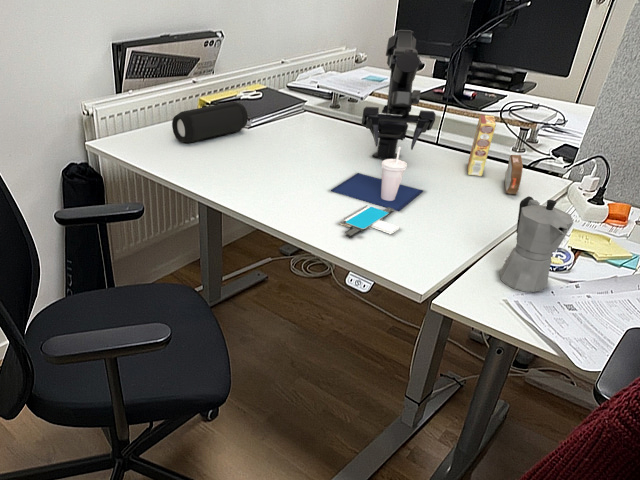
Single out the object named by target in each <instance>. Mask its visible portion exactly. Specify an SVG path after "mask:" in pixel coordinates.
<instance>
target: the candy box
mask: <svg viewBox="0 0 640 480" xmlns="http://www.w3.org/2000/svg"><path fill="white" fill-rule="evenodd" d="M496 127H497V123H496V118H495V116H494V115H485V114H479V117H478V121H477V125H476V128H475V133H474V137H473V140H472V145H471V149H470V154H469V157H468V160H467V161H468V162H467V175H468V176H476V177H482V176H483V174H484V171H485V166H486V163H487V160H488V156H489V152H490V149H491V146H492V145H491V144H492V141H493V137H494V133H495V130H496Z"/></svg>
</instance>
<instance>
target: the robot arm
mask: <svg viewBox="0 0 640 480" xmlns="http://www.w3.org/2000/svg"><path fill="white" fill-rule="evenodd" d="M416 45H417V38H415V36H414V31H412V30H410V29H398V30H396V31H395V34H394V35H391V36H390V37H389V38H388V40H387V43H386V50H385V57H387V58H386V64H387V67H388V70H389V69H390V76H389V84H388V93H387V102H386V105H384V106H383V108H382V110H381V112H379V110H380V108H379V107H378V106H365V107H363V111H362V116H361V126H364V127H365V128H366V129H368V130H369V131H370V133H371V135H372V138H373V142H374V145H375V147H376V148H377V150H376V152H374V153H373V154H372V155H371V156H372V158H377V159H381V160H386V159H396V158H397V152H396V151H397V149H398V148H397V147H398V141H404V140H405V139H406V135H407V131H408V129H409V124H408V123H410V124H416V125H415V128H414V132H413V136H412V139H411V146H410V150H411V151H412V150H414V147H415V145H416V143H417V141H418V139H419V138H420V136H421V135H422V134H425V133H426V132H427V131H431V130H432V129H433V126H434V124H435V121H436V117H437V116H436V115H437V114H436V112H435V111H434V110H421V109H420V111H419V113H418V114H417V115H416V114H410V113H411V111H412V108H413V107H412V106H413V105H418V104H419V103H420V101H421V93H422V92H421V90H420V89H419V90H418V89H414V90H413V82H414V81H415V78H416V75H417V72H418V71H419V70H420V69H422V66H423V62H422V60H421V58H420V55H418V53H419V52H418V50H417V49H416Z"/></svg>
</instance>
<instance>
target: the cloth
mask: <svg viewBox="0 0 640 480" xmlns="http://www.w3.org/2000/svg"><path fill="white" fill-rule="evenodd" d="M381 185H382V178H378V177H374V176H370V175H367V174H363V173H361V172H360V173H359V172H357V173H355V174H354V175H352V176H350V177H349V178H348V179H346V180H344V181H343V182H341V183H340V184H338V185H337V186H335V187H333V188H332V189H330V192H333V193H336V194H340V195H343V196H346V197H350V198H353V199H356V200H357V199H358V200H359V201H363V202H367V203H369V204H374V205H377V206H379V207H383V208H388V207H390V209H391V208H393V210H392V211H397V212H400V211H401V210H403V208H405V207H406V206H408V205H409V204H410V203H411V202H413V200H415V199H416V198H417V197H418V196H420V195H421V194H422V193H423V192H424V190H423V189H418V188H415V187H411V186H407V185H403V184H400V185H399V188H398V191H397V194H396V197H395V200H393V201H387V200H383V199H382V198H381Z"/></svg>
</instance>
